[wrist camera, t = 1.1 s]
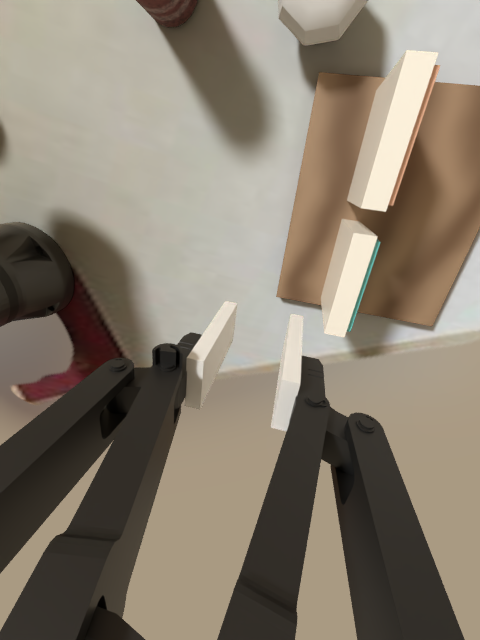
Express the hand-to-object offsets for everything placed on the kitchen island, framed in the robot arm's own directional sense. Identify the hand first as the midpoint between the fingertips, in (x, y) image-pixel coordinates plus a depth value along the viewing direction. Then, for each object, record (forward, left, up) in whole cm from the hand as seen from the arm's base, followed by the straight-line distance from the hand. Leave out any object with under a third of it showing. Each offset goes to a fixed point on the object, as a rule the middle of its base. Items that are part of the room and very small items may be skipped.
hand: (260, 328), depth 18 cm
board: (+10, +6, -23) cm, 25 cm away
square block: (+7, 0, -21) cm, 22 cm away
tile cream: (+7, +12, -21) cm, 25 cm away
